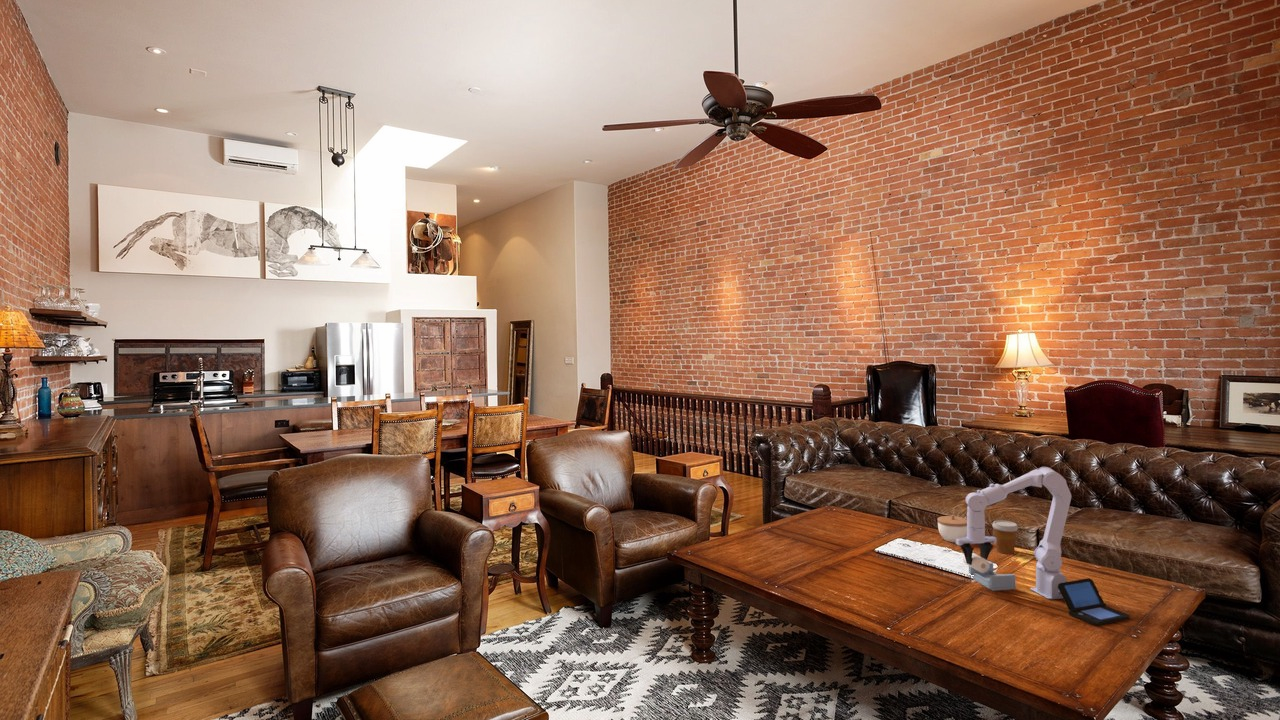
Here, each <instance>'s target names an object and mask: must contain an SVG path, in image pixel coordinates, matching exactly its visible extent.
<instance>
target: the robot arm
mask: <svg viewBox="0 0 1280 720" xmlns="http://www.w3.org/2000/svg"><path fill="white" fill-rule="evenodd" d="M1031 486H1032V487H1037V488H1042V487H1045V488H1046V490H1047V491H1049V493H1050V494H1051V495H1052V500H1051V505H1050V508H1049V513H1048V517H1047V520H1046V521H1047V522H1046V526H1045V529H1044V534H1043V536H1042V537H1043V538H1042V539H1041V540H1039V544H1038V546H1037V547H1036V548H1035V549H1034V552H1033V553H1034V558H1035V559H1036V560H1037V562H1036V564H1035V587H1030V588H1029V589H1030V591H1033V592H1035V593H1036V594H1038V595H1040V596H1042V597H1043V598H1046V599H1047V600H1059V599H1064V598H1063V596H1062V594H1061V592H1060V590H1059V588H1058V584H1059V583H1064V582H1068V578H1067V577H1066V575H1064V574H1063V573H1062V572H1061V568H1062V566H1063V561H1062V557H1061V556H1062V547H1061V542H1062V539H1063V534H1064V530H1065V525H1066V521H1067V517H1068V513H1069V509H1070V506H1071V505H1070V504H1071V500H1072V493H1071V491H1070V489H1069V486H1068V484H1067V480H1066V479H1065V478H1064V477H1063V476H1062V475H1061V474H1060V473H1058V472H1057V471H1055V470H1054V469H1052V468H1051V467H1049V466H1041V467H1039V468H1037V469H1033V470H1030V471H1029V472H1027V473H1025V474H1023V475H1021V476H1019V477H1016V478H1015V479H1013V480H1010V481H1008V482H1006V483H1003V484H999V483H995V484H994V482H993V483H992V482H991V483H990V484H989V486H988V487H986V488H983V489H977V490H976V492H970V493H968V494H967V495H966V497H965V499H964V502H965V503H966V505H967V507H966V509H967V510H966V519H967V536H966V537H963V538H958V539H956V542H955V545H957V546H960V549H961V550H962V553H963V556H964V555H965V559H966V563H967V564H969V565H972V553H974V547H973V546H972V545H976V544H977V545H978V547H979V554H980V555H979V556H980V557H982V558H984V559H986V560H988V558H989V555H990V553H991V552H992V550H993V549H994V545H993V544H996V538H995V536H994V535H993V536H987V535H986V526H985V525H986V520H985V519H986V517H985V510H986V508H987V506H991V505H993V504H995V503H998V502H1000V501H1003V500H1005V499H1006V498H1007V496H1008V494H1011V493H1014V492H1016V491H1019V490H1022V489H1025V488H1027V487H1031ZM967 564H966V565H967Z"/></svg>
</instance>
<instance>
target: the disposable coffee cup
mask: <svg viewBox="0 0 1280 720" xmlns="http://www.w3.org/2000/svg"><path fill="white" fill-rule="evenodd" d="M991 525H992V528H993V534H994V535H993V536H994V537H995V538H996V543H995V548H996V549H995V550H996V552H997V553H1000V554H1004V555H1007V554H1008V555H1011V554H1014V553H1015V547H1016V539H1017V532H1018V529H1019V527H1018V524H1017V523H1015V522H1014V521H1013V522H1012V521H1009V520H994V521H993V522H992V524H991Z"/></svg>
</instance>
